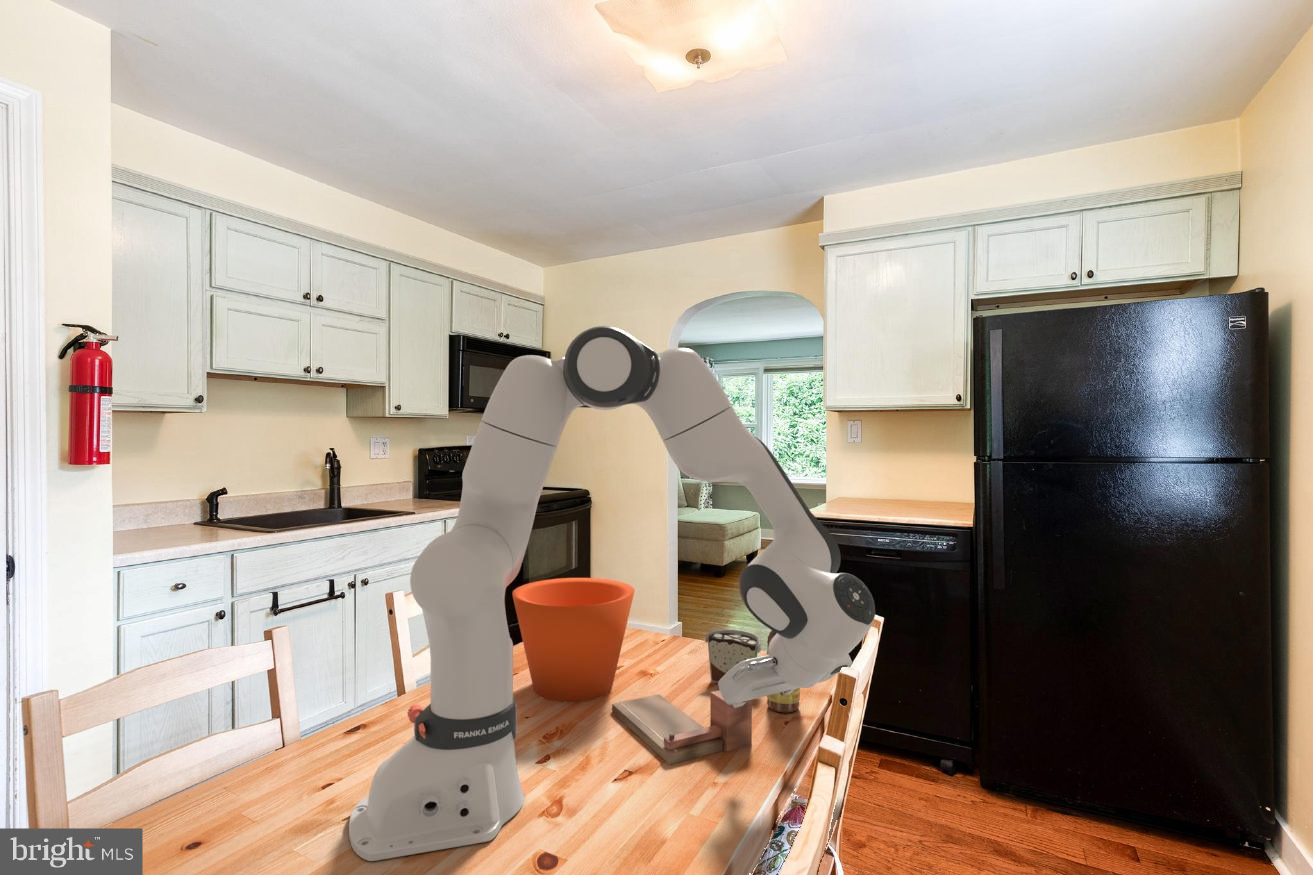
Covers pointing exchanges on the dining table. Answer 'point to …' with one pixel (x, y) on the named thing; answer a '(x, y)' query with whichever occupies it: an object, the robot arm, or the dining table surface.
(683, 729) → the plank
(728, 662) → the food container
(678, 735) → the latch lever with knob
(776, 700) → the sauce bottle
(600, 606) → the flowerpot
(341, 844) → the dining table surface
